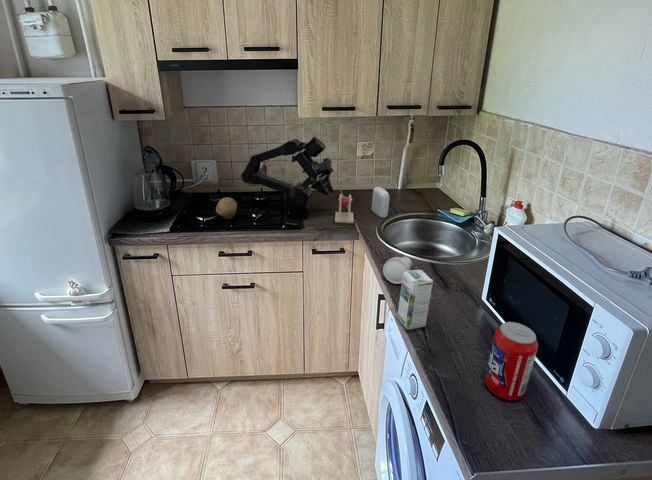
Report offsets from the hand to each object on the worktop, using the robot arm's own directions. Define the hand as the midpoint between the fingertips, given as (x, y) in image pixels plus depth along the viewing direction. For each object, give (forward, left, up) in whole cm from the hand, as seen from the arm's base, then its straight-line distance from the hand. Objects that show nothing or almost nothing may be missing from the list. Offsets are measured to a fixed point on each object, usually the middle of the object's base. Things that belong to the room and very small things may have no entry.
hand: (330, 193), depth 159 cm
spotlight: (+24, -41, -14) cm, 50 cm away
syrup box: (+25, -64, -14) cm, 70 cm away
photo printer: (+22, +14, -14) cm, 30 cm away
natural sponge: (-45, -1, -14) cm, 47 cm away
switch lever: (+6, +1, -5) cm, 8 cm away
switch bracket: (+6, +6, -14) cm, 16 cm away
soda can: (+41, -84, -14) cm, 95 cm away
